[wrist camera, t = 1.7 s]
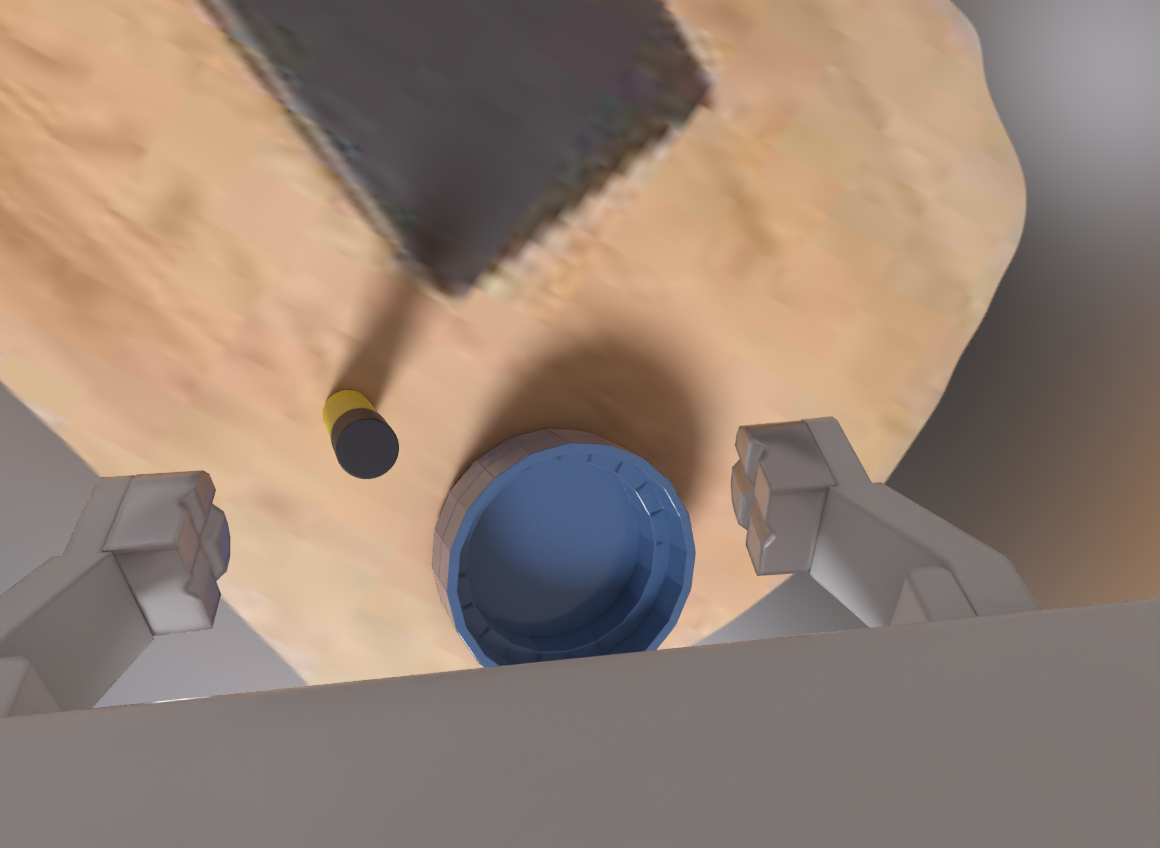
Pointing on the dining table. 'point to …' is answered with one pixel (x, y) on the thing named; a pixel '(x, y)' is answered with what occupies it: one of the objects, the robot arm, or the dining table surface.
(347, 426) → the highlighter
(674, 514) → the bowl
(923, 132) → the dining table surface
